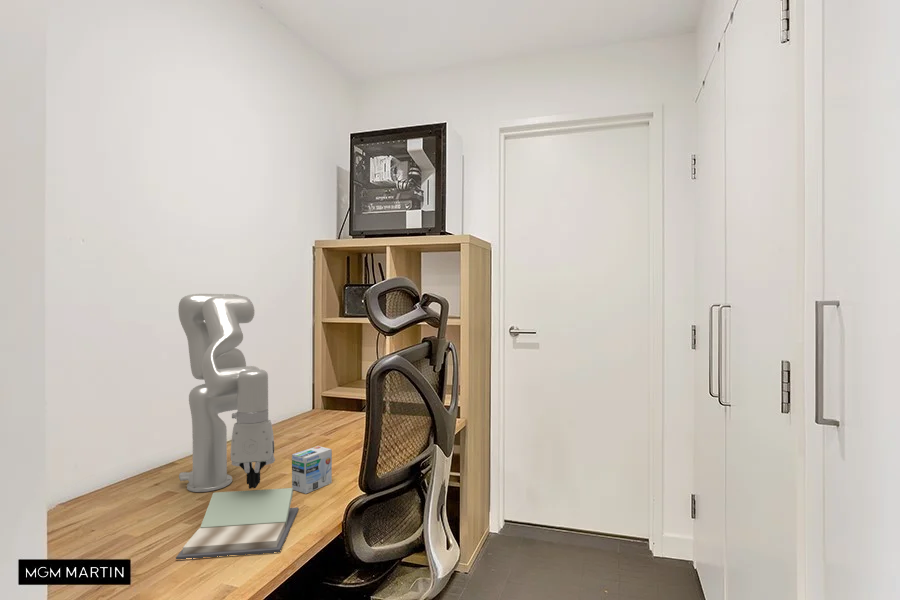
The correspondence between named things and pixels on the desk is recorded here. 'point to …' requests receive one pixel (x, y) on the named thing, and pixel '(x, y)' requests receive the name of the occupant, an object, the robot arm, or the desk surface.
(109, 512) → the desk surface
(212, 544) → the oak plank
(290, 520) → the underlay mat
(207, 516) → the sage plank
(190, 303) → the robot arm
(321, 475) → the light bulb box
